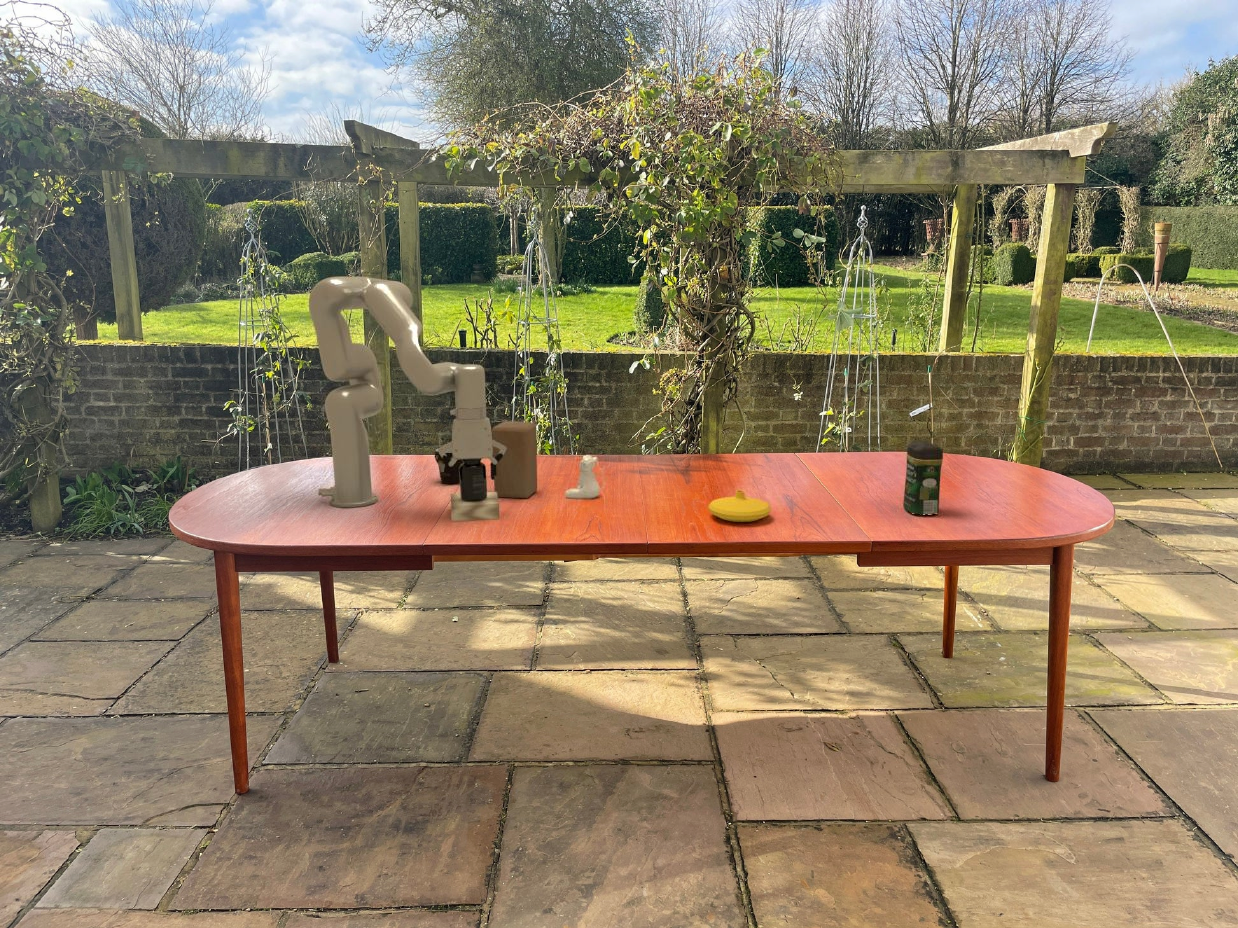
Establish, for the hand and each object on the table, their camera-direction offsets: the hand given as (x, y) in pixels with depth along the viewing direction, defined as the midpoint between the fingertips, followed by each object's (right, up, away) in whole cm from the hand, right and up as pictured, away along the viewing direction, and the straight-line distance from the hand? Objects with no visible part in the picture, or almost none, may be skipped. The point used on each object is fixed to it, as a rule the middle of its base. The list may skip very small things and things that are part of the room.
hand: (473, 479), depth 220 cm
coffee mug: (-13, -1, +36) cm, 39 cm away
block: (+8, -5, +22) cm, 24 cm away
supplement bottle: (0, -5, +1) cm, 5 cm away
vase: (+68, -10, -2) cm, 69 cm away
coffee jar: (+116, -9, +3) cm, 116 cm away
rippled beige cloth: (0, -9, +2) cm, 9 cm away
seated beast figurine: (+28, -5, +19) cm, 35 cm away
